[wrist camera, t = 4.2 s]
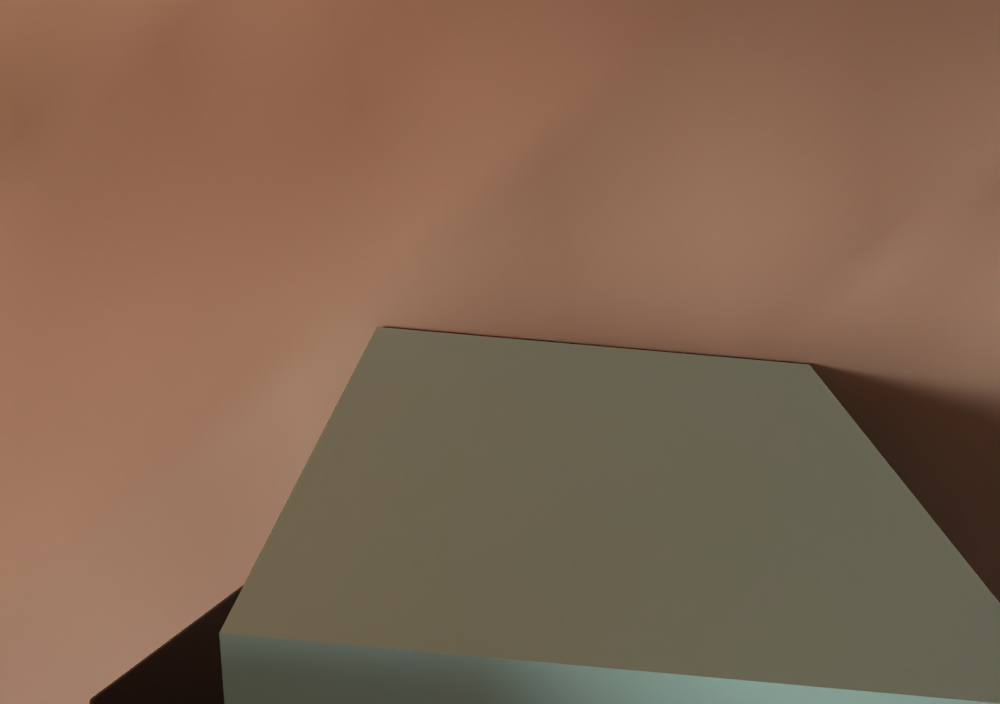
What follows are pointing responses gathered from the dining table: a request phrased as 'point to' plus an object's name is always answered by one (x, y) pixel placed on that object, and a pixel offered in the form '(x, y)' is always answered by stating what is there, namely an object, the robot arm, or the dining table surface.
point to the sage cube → (601, 542)
